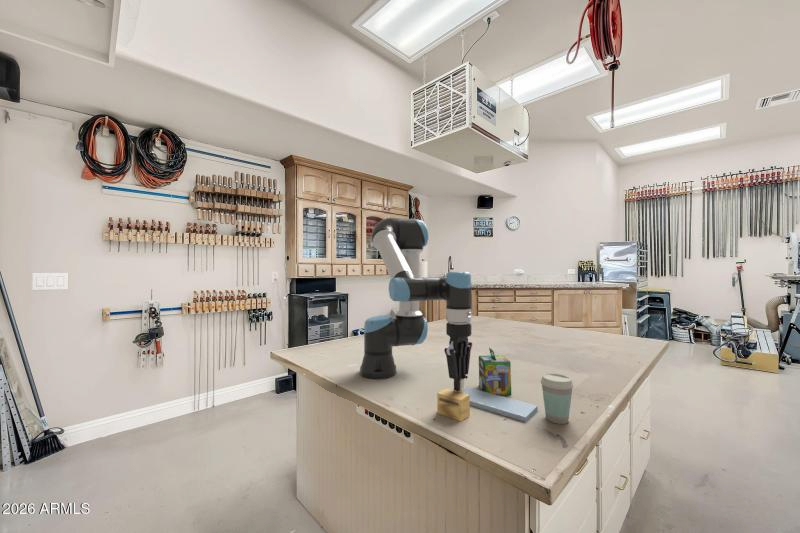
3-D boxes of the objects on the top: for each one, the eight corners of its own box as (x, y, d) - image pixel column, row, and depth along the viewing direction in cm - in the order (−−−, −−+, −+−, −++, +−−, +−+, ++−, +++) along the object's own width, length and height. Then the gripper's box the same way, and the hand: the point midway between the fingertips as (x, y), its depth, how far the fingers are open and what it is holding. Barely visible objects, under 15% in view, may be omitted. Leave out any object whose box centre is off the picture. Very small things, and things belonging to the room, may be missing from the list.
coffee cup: (581, 423, 89) (580, 380, 89) (555, 428, 87) (555, 383, 87) (557, 410, 97) (557, 371, 98) (534, 414, 95) (534, 374, 95)
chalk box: (511, 395, 109) (511, 352, 110) (484, 395, 109) (484, 352, 109) (502, 385, 119) (502, 345, 119) (478, 385, 119) (478, 345, 119)
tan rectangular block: (437, 413, 95) (437, 393, 96) (446, 407, 99) (446, 388, 99) (460, 421, 90) (460, 400, 90) (469, 415, 94) (469, 394, 94)
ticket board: (452, 400, 106) (452, 395, 106) (467, 391, 113) (467, 386, 113) (525, 422, 90) (525, 417, 90) (537, 410, 98) (537, 405, 98)
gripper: (458, 326, 90) (459, 410, 90) (479, 320, 100) (480, 396, 100) (436, 323, 95) (436, 403, 95) (458, 318, 105) (459, 390, 105)
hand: (459, 399), depth 97 cm, fingers closed
